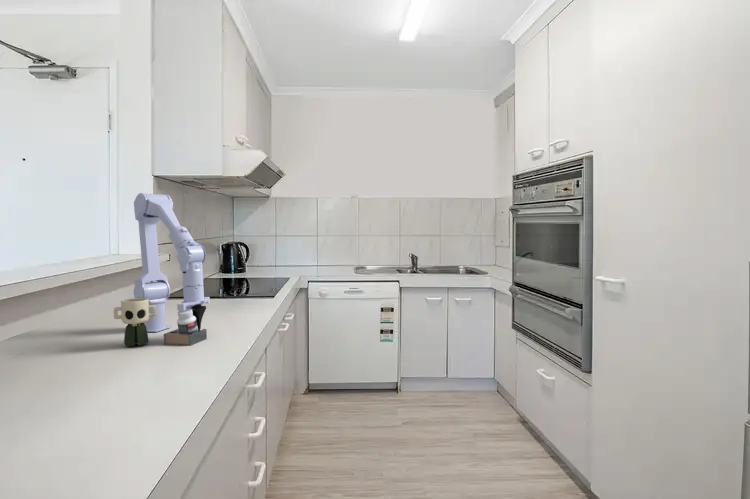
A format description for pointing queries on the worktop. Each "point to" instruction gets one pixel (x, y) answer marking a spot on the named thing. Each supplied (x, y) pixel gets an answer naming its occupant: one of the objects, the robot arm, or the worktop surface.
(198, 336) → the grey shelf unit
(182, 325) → the pill bottle
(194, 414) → the worktop surface
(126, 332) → the character mug
